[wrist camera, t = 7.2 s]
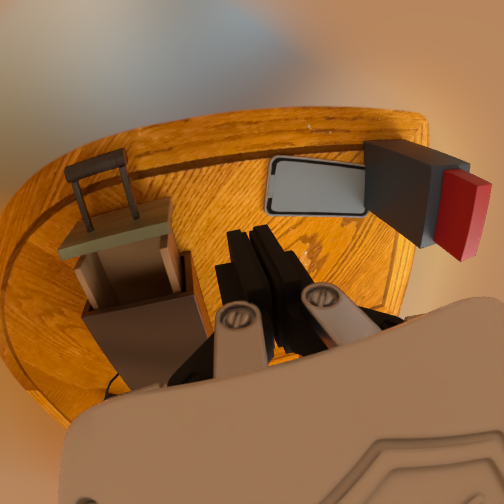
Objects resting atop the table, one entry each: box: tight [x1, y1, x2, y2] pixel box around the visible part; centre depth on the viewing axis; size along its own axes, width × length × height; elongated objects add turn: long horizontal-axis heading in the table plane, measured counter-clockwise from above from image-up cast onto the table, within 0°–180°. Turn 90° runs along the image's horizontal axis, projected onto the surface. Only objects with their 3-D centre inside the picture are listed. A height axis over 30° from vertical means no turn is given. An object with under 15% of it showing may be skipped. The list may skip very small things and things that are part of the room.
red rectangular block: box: [433, 169, 492, 262], centre depth 23 cm, size 8×3×4 cm, turn 7°
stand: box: [364, 140, 470, 249], centre depth 30 cm, size 9×7×12 cm
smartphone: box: [264, 155, 369, 218], centre depth 34 cm, size 7×1×15 cm
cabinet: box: [81, 251, 213, 391], centre depth 33 cm, size 15×13×9 cm
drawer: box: [57, 148, 186, 311], centre depth 27 cm, size 20×11×7 cm, turn 7°
